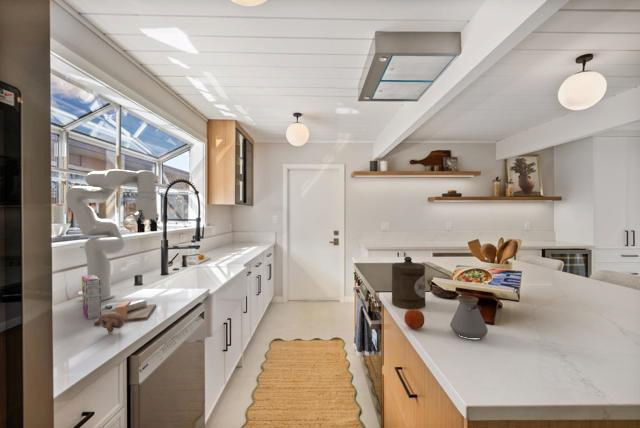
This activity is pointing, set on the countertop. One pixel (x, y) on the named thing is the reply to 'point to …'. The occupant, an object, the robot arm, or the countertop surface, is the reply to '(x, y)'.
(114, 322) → the mushroom
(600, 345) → the countertop surface
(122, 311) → the keeper
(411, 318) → the fruit
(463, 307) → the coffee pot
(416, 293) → the wooden container
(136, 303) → the link
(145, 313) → the board
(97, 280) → the candy bar box
